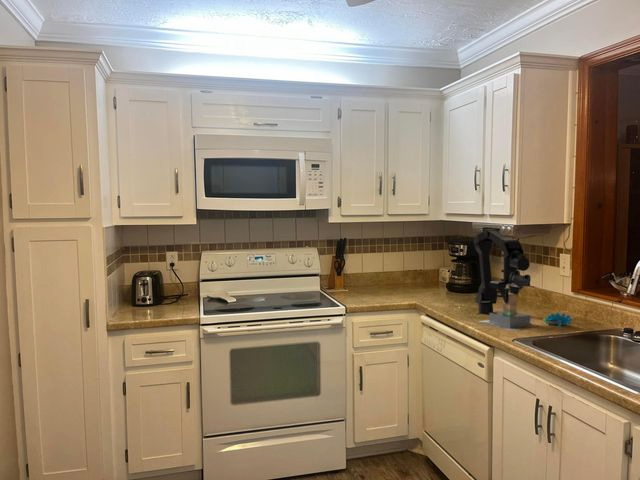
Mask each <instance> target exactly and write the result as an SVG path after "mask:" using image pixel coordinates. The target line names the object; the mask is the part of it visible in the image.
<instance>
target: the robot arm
mask: <svg viewBox="0 0 640 480" xmlns="http://www.w3.org/2000/svg"><path fill="white" fill-rule="evenodd" d="M494 243H495V244H496V245H498V246H499V249H500V250H501V251H502V252H503V253H502V254H501V257H502V258H503V269H500V270H501V273H503V274H502V275H503V278H500V279H501V280H493V278H492V268H491V256H490V255H491V254H490V252H491V250H492V249H493V244H494ZM473 245H474V250H475V251H476V252H477V253H478V258H479V271H480V282H481V283H480V285H479V287H478V292H477V295H476V296H475V298H474V301H475V302H474V303H476V304H477V305H478V313H476V314H475V316H477V315H487V316H489V313H491V312H494V306H493V304H495V305H496V304H497V299H498V296H499V295H498V292H499V293H500V295H501V297H502V301H503V300H504V302H505V303H507V302H508V293H513V294H517V296H518V294H519V292H520V291H521V290H522V289H524V287H525V288H526V287H530V286H531V275H530V274H524V275H523V274H521V272H520V271H522V272H524V271H527V270H528V269H529V268H530V264H531V263H530V261H529V259H528V258H527V257H526V254H525V251H524V249H523V246H522V244H521V242H520V241H519V240H518V239H516V238H511V237H507V236H506V235H504V234H503V233H500V232H499V231H497V229H491V228H490V229H488V228H487V229H485V230H484V231H483V232H480V233H479V234H476V236H475V237H474V238H473Z"/></svg>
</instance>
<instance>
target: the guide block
mask: <svg viewBox="0 0 640 480" xmlns="http://www.w3.org/2000/svg"><path fill="white" fill-rule="evenodd" d="M488 316H489V317H488V320H489V321H488V324H489V323H493V324H494V325H495V324H496V325H495V326H500V327H502V328H506V329H515V328H524V327H530V326H531V325H530V323H531V315H530V314H527V313H522V312H519V311H517V314H516V315H510V316H509V315H506V314H503V310H501V311H500V310H499V311H493V312H491V313H489V315H488ZM493 324H492V325H493Z"/></svg>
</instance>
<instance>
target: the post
mask: <svg viewBox="0 0 640 480" xmlns="http://www.w3.org/2000/svg"><path fill="white" fill-rule="evenodd" d="M517 297H518V295H517V294H513V293H510V292H508V302H507V303H505V302H504V300H503V299H502V311H503V314H506V315H509V316H510V315H516V314H517V312H518V311H517V305H518V304H517V303H518V302H517V301H518V300H517V299H518V298H517Z"/></svg>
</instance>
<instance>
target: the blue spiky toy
mask: <svg viewBox="0 0 640 480" xmlns="http://www.w3.org/2000/svg"><path fill="white" fill-rule="evenodd" d="M572 321H573V318H572V317H571V315H569V314H566V313H563V312H562V313H561V314H560V312H556V313H555V314H554V313H553V312H552V313H551V314H550V315H547V317H544V318H543V322H544V323H545V325H546V326H550V325H557V327H558V328H561V327H562V325H564V326H568V325H570V324H571V323H572Z"/></svg>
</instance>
